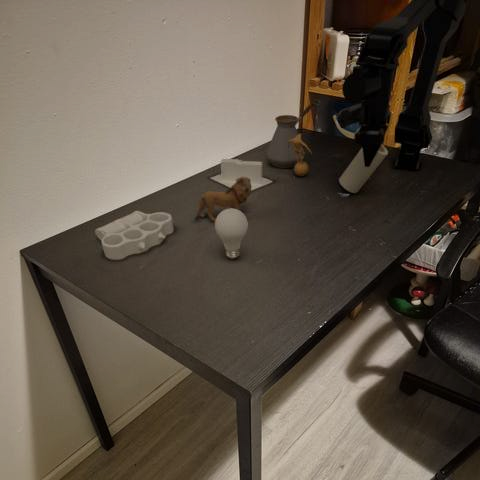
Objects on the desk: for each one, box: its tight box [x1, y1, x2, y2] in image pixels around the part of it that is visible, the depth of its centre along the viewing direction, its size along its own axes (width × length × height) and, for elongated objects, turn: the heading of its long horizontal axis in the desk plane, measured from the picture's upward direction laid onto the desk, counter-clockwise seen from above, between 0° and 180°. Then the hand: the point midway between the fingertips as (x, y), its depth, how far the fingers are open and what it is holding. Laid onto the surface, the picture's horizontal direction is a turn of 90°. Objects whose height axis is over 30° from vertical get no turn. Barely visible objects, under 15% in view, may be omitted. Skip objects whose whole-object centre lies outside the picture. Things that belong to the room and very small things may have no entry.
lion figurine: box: [194, 176, 252, 222], centre depth 101 cm, size 15×5×9 cm, turn 110°
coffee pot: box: [265, 98, 321, 169], centre depth 126 cm, size 21×12×15 cm, turn 139°
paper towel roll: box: [338, 144, 389, 194], centre depth 107 cm, size 6×12×6 cm
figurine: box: [287, 133, 313, 177], centre depth 116 cm, size 8×6×12 cm
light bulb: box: [214, 207, 249, 260], centre depth 86 cm, size 7×7×11 cm
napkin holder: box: [210, 158, 274, 192], centre depth 118 cm, size 15×11×6 cm
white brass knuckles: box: [94, 210, 175, 261], centre depth 95 cm, size 3×18×15 cm
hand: (368, 161), depth 106 cm, fingers closed on paper towel roll, 6 cm apart
